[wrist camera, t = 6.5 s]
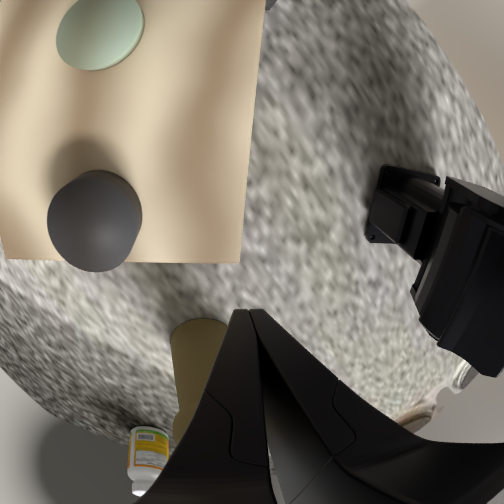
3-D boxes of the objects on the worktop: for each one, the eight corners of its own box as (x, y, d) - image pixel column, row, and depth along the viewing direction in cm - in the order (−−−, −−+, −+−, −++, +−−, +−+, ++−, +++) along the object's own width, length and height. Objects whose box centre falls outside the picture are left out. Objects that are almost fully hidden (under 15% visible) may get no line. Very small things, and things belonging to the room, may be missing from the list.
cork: (158, 347, 26) (151, 454, 16) (195, 307, 24) (198, 424, 14) (210, 371, 28) (220, 470, 19) (249, 337, 27) (273, 443, 17)
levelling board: (265, -33, 11) (280, -59, 7) (236, 251, 19) (243, 282, 16) (14, -3, 8) (-14, -14, 5) (16, 248, 16) (-8, 274, 13)
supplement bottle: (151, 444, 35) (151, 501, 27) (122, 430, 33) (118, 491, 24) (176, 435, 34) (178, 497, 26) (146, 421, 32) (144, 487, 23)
